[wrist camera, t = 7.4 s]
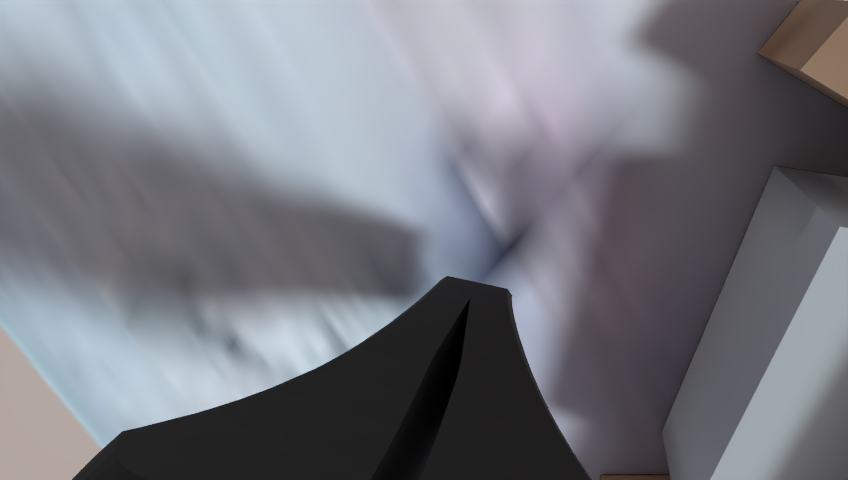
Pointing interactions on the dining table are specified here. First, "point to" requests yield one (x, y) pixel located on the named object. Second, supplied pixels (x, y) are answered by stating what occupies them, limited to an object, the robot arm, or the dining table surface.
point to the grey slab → (773, 347)
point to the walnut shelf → (804, 69)
